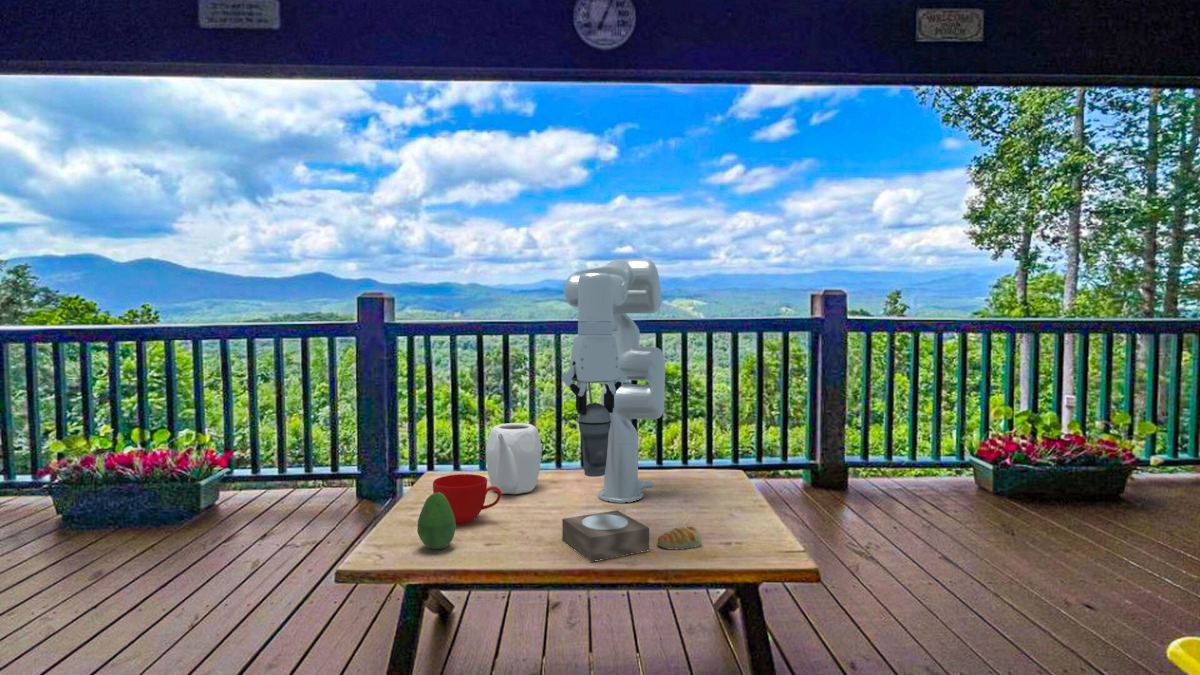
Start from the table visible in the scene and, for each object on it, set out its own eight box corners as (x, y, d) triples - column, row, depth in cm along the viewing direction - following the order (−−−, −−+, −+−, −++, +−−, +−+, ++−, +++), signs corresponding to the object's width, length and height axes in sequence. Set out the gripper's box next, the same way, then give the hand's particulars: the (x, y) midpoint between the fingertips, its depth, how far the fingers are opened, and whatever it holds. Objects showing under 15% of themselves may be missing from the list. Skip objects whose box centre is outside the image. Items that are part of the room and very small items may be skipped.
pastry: (666, 554, 133) (666, 536, 133) (651, 544, 139) (651, 527, 139) (703, 547, 137) (704, 530, 137) (687, 538, 143) (687, 521, 143)
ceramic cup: (491, 532, 146) (491, 489, 145) (423, 527, 149) (423, 485, 148) (509, 515, 158) (509, 476, 158) (446, 511, 161) (446, 472, 161)
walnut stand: (617, 531, 146) (617, 508, 146) (649, 551, 134) (649, 526, 134) (562, 541, 140) (562, 516, 140) (590, 562, 128) (590, 536, 127)
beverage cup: (607, 479, 133) (607, 384, 132) (574, 477, 134) (573, 384, 134) (614, 470, 140) (614, 381, 139) (582, 469, 141) (582, 380, 141)
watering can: (471, 503, 169) (471, 433, 168) (500, 479, 195) (500, 418, 195) (527, 506, 167) (527, 435, 166) (549, 481, 193) (549, 419, 193)
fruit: (444, 539, 141) (444, 486, 140) (462, 548, 135) (462, 493, 135) (411, 547, 135) (410, 492, 135) (428, 558, 130) (428, 500, 129)
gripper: (622, 329, 143) (621, 408, 144) (551, 330, 136) (551, 413, 136) (638, 330, 137) (638, 413, 137) (565, 330, 129) (565, 418, 130)
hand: (595, 412), depth 137 cm, fingers closed on beverage cup, 5 cm apart
